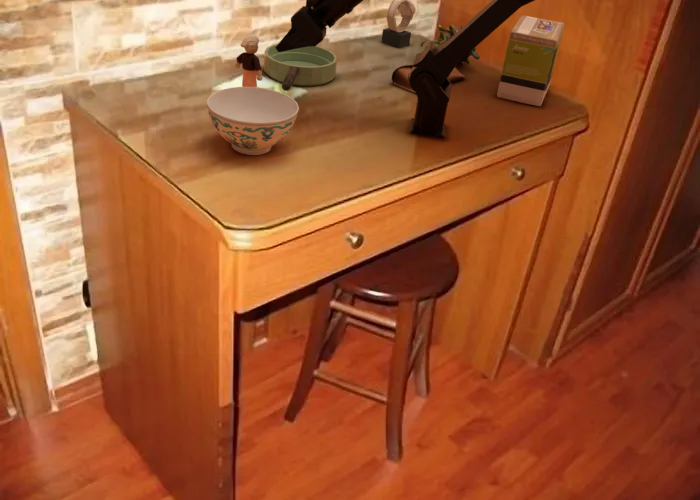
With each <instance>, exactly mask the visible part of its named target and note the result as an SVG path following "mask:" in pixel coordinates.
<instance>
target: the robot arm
mask: <svg viewBox="0 0 700 500" xmlns="http://www.w3.org/2000/svg"><path fill="white" fill-rule="evenodd" d="M363 1H364V0H305V5H303V6H302V7H300V8H299V9H298V10H297V11H296V12H294V14H293V15H292V16H291V17H290V29H289V30H288V31H287V33H286V34H285V35H284V36H283V38H281V40H279V42H278V43H277V44H278V45H277V46H276V47H275V48H276V50H277V51H278V52H283V51H288V50H293V49H298V48H303V47H309V46H310V47H312V46H313V47H315V46H318V45H319V44H320V43H322V42H323V40H324V39H325V38H326V37H327V29H328V28H329V29H331V28H332V27H333V26H335V24H336V22H338V21H339V20H340V19H342V18H343V17H345V16H346V15H350V13H351V12H353V10H354V9H355V8H356V7H357V6H358V5H359V4H361V3H362V2H363ZM535 1H536V0H491V1H490V2H488V3H487V4H486V5H485V6H483V8H482V9H481V10H480V11H479V12H477V13H476V14H475V15H474V16H473V17H472V18H471V19H470V20H469V21H467V23H465V24H464V25H462V26H463V27H462V28H461V27H460V28H459V31H458V32H457V33H456V34H455V35H453V36H452V37H451V38H450V39H449V40H448V41H447V42H445V43H443V44H441V45H439V46H437V47H436V46H435V44H434V42H433V40H431V41H430V42H428V43H429V44H427V45H428V46H427V45H426V46H427V47H426V46H425V47H426V48H425V47H424V49H425V50H424V49H423V50H422V51H421V52H418V53H416V54H415V56H414V60H413V63H414V64H413V63H412V64H413V67H412V70H411V74H410V77H409V83H410V86H411V88H412V89H413V91H414V92H416V93H415V94H416V97H417V100H416V105H415V112H414V117H413V118H411V119H410V130H409V133H410V134H411V135H417V136H423V137H432V138H436V139H437V138H438V139H445V137H446V124H445V120H446V116H447V111H448V105H449V102H450V98H451V90H452V86H453V83H451V82H450V81H449V80H448V77H449V75H450V74H451V72H452V71H453V69H454V68H456V67H457V65H458V63H460V62H459V61H460V60H461V59H462V58H464V57H465V56H466V55H467V54H468V53H469V52H470V51H472V50H473V49H474V48H475V47H476V48H477V47H478V45H479V44H481V43H482V42H483V41H484V40H485V39H487V37H489V36H490V35H491V34H492V33H494V31H495V30H497V29H498V28H500V26H501V25H502V24H504V23H505V22H506V21H507V20H508V19H509V18H510V17H512V16H513V14H515V13H516V12H518V10H519V9H521V8H522V7H524V6H526V5H528V4H530V3H533V2H535ZM327 27H328V28H327ZM414 92H413V93H414Z"/></svg>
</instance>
